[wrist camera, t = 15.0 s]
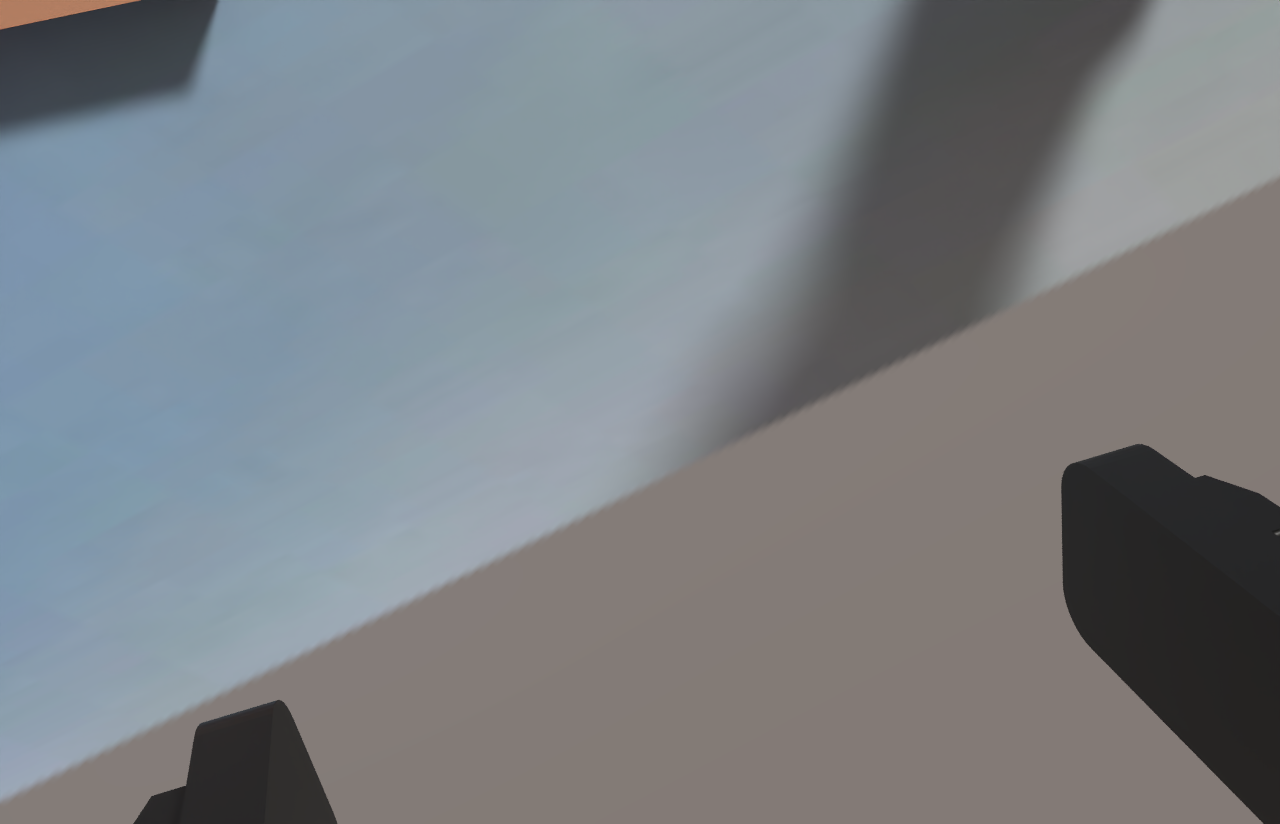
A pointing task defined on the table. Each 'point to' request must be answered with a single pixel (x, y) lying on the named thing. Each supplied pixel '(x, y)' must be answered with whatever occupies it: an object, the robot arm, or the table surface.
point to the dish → (47, 9)
